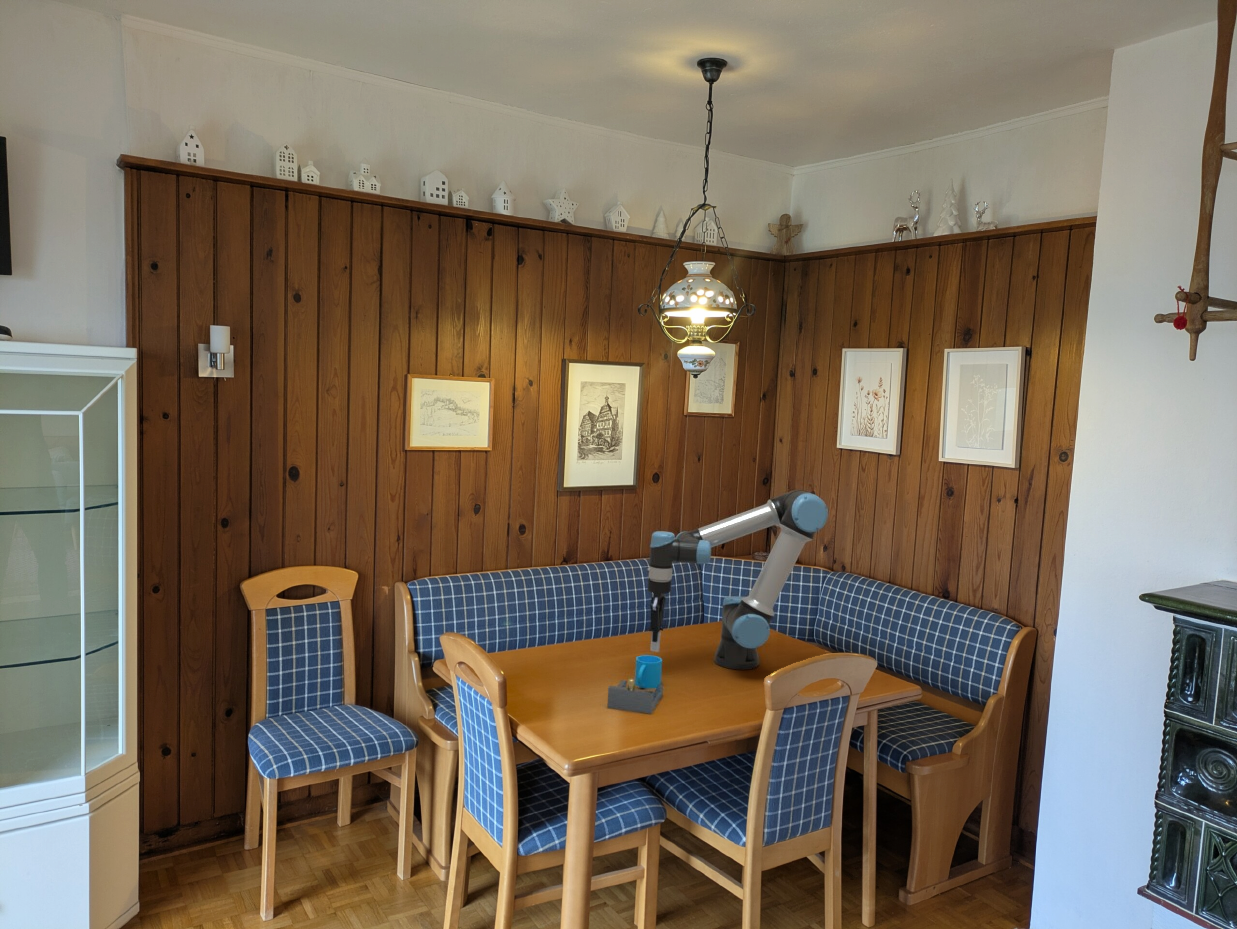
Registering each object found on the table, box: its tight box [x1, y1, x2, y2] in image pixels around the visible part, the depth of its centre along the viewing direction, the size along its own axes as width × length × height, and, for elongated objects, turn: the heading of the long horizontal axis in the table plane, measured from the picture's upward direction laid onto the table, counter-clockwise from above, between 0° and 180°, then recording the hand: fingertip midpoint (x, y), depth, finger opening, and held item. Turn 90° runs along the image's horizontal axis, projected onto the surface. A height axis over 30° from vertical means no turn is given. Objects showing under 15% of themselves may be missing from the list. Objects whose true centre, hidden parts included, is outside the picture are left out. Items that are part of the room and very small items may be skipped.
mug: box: [634, 654, 663, 690], centre depth 273 cm, size 12×8×8 cm
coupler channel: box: [607, 677, 664, 715], centre depth 259 cm, size 13×16×9 cm
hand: (654, 650), depth 285 cm, fingers closed
